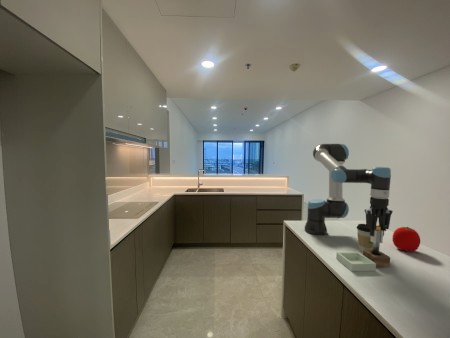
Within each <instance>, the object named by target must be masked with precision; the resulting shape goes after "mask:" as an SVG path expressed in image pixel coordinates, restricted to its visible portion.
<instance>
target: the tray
mask: <svg viewBox="0 0 450 338" xmlns="http://www.w3.org/2000/svg"><path fill="white" fill-rule="evenodd" d="M335 259H336V260H337V261H338V262H340V263H341V264H342V265H343V266H344V267H346V268H347V269H349V271H350V272H376V270H377V269H376V268H377V267H376V263H374V262H373V261H371V260H370V259H368V258H367V257H365V256H364V255H363V253H362V252H360V251H336V256H335Z"/></svg>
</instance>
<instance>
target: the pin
mask: <svg viewBox="0 0 450 338" xmlns="http://www.w3.org/2000/svg"><path fill="white" fill-rule="evenodd" d="M375 230H376V231H377V235H376V243H373V249H372V254H374V255H376V256H377V255H379V251H380V246H381V245H380V244H381V243H380V233H381V226H379V224H376V229H375Z"/></svg>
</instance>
